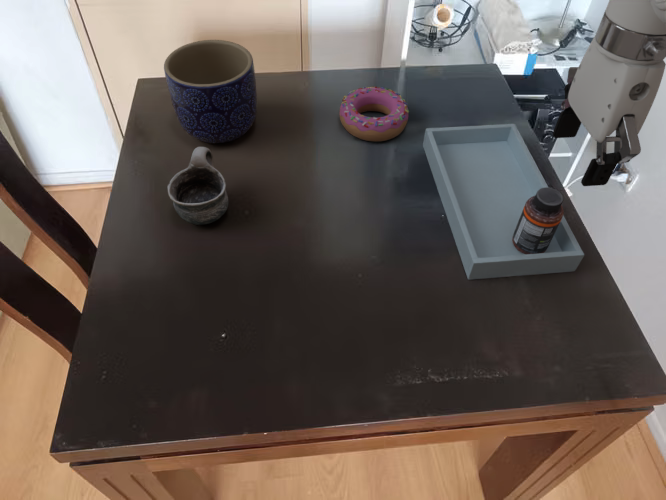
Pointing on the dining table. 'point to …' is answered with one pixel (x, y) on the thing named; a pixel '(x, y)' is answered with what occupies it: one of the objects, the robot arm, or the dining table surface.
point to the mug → (199, 190)
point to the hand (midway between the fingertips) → (577, 159)
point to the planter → (212, 89)
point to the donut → (374, 101)
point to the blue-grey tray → (493, 200)
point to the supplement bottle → (538, 221)
